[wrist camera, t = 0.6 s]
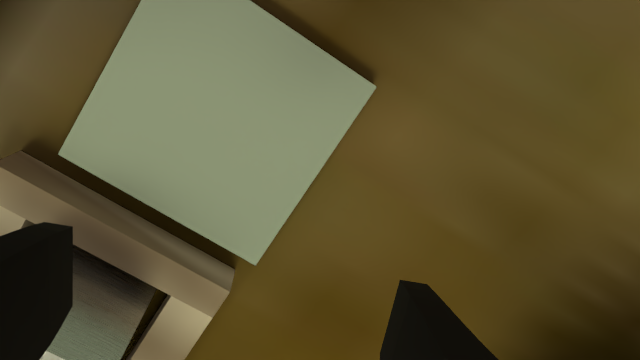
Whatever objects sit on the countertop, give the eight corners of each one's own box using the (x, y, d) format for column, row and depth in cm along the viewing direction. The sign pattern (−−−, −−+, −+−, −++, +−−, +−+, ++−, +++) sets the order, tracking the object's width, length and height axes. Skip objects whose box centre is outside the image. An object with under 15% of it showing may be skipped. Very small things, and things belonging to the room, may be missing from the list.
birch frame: (109, 457, 25) (93, 494, 23) (-93, 367, 23) (-130, 400, 21) (235, 269, 23) (229, 293, 21) (20, 150, 21) (-9, 163, 19)
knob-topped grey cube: (110, 359, 24) (33, 501, 17) (7, 309, 23) (-122, 436, 16) (163, 276, 23) (104, 389, 16) (57, 220, 22) (-57, 313, 15)
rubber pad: (256, 257, 22) (255, 265, 22) (66, 149, 21) (57, 154, 20) (373, 84, 21) (376, 86, 20) (175, -51, 19) (170, -54, 18)
